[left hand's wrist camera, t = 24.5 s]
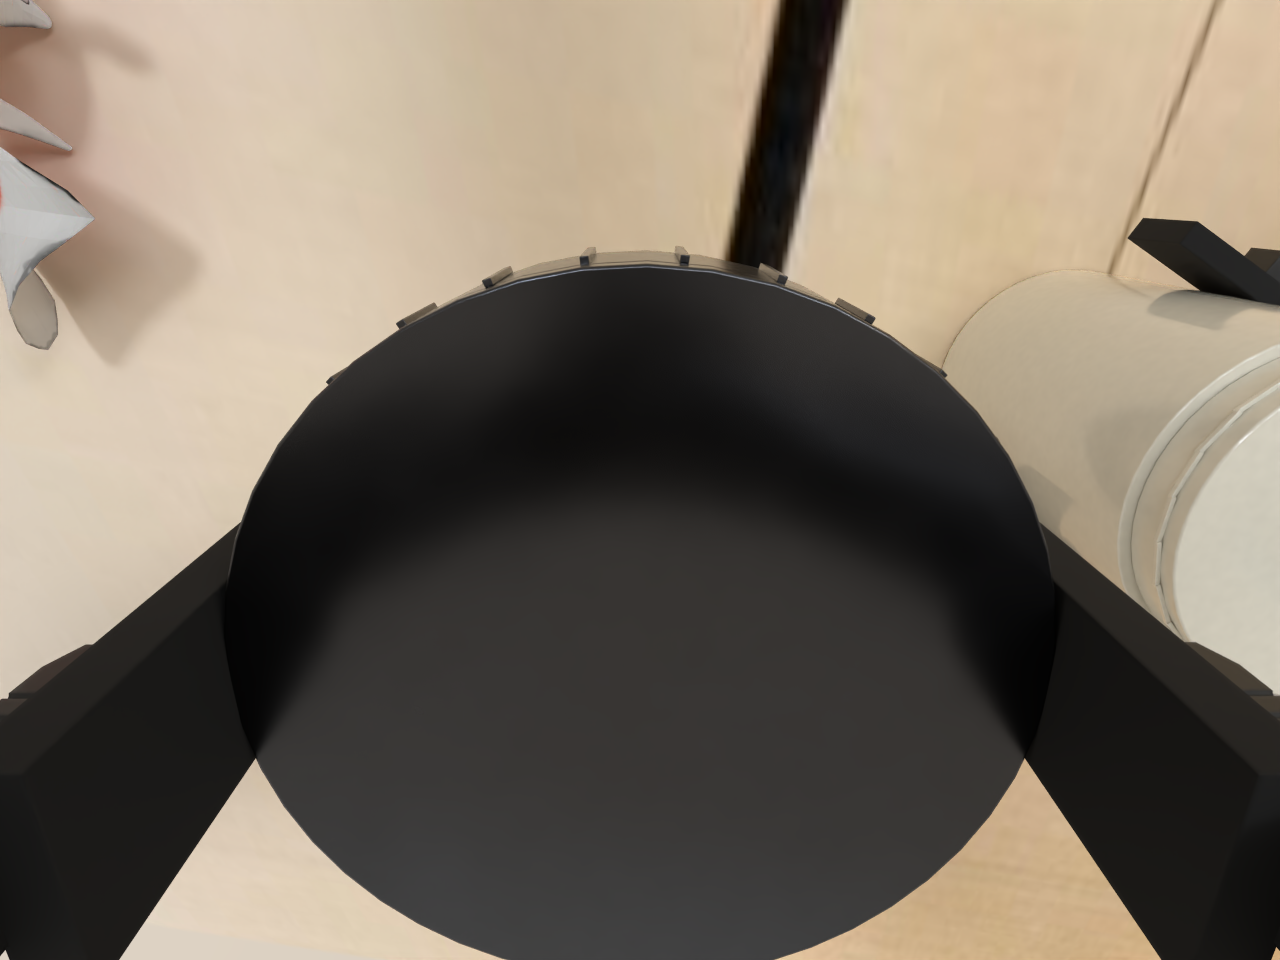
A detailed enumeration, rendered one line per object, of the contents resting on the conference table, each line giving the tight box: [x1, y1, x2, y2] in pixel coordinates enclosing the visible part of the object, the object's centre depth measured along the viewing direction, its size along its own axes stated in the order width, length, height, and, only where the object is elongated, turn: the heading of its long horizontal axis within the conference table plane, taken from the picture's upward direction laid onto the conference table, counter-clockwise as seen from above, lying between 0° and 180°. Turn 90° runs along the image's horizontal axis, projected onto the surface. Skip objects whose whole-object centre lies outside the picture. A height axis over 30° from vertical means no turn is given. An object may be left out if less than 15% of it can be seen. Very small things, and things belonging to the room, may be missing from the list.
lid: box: [224, 246, 1056, 960], centre depth 11 cm, size 11×11×2 cm
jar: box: [942, 270, 1280, 695], centre depth 26 cm, size 10×10×15 cm
